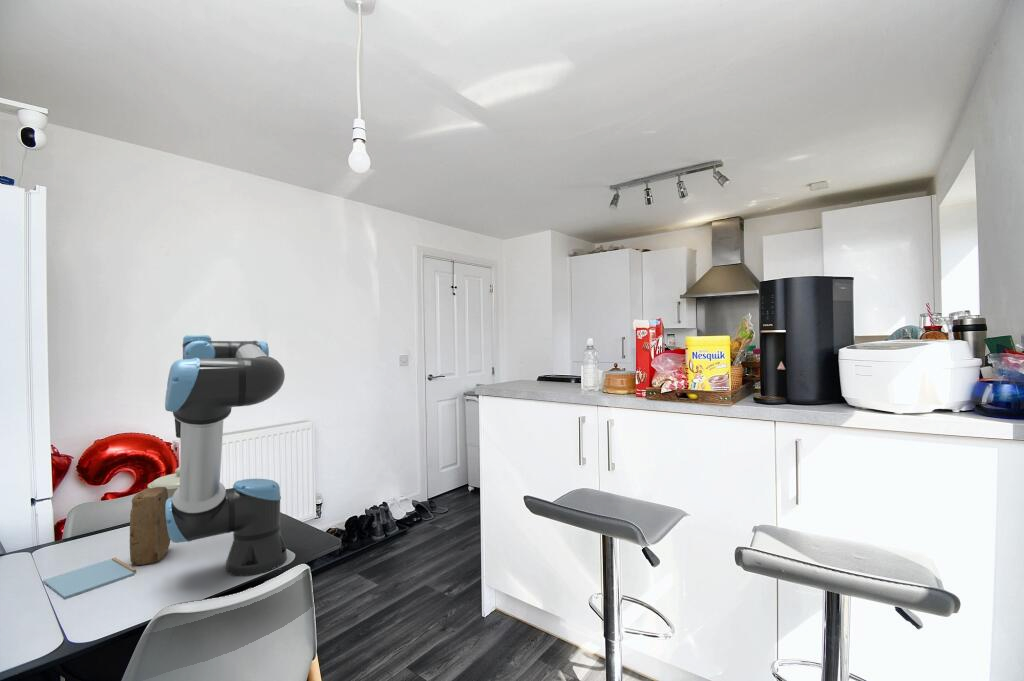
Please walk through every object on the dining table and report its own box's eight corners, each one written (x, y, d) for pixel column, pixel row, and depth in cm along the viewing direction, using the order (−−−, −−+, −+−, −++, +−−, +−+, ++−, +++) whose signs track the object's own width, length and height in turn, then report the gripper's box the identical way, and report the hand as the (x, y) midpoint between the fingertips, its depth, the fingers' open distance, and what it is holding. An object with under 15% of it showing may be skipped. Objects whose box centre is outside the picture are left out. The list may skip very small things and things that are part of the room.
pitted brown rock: (157, 565, 131) (157, 494, 131) (126, 568, 129) (126, 496, 130) (174, 548, 142) (174, 483, 142) (146, 551, 140) (146, 485, 140)
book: (137, 573, 126) (137, 570, 126) (64, 599, 113) (64, 595, 113) (113, 560, 134) (113, 556, 134) (43, 582, 122) (43, 578, 122)
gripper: (218, 381, 155) (218, 452, 155) (161, 385, 141) (161, 462, 141) (230, 382, 152) (230, 454, 151) (173, 386, 138) (172, 465, 137)
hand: (196, 458), depth 146 cm, fingers open, 3 cm apart
